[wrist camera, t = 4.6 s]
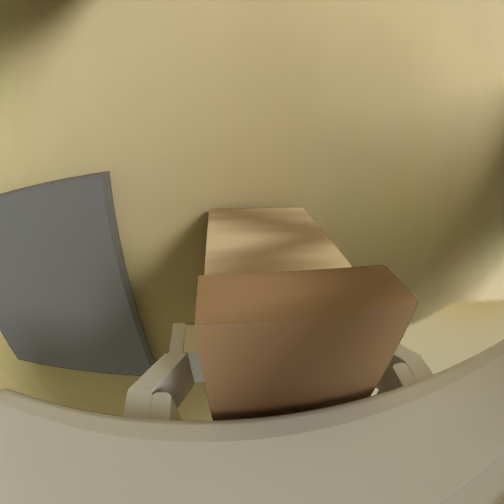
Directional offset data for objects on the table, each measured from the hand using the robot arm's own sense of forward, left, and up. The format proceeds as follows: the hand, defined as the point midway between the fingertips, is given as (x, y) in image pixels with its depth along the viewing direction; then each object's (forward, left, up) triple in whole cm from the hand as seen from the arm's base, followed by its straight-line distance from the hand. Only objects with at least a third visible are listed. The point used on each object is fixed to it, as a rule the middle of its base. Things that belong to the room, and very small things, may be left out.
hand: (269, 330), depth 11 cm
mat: (+14, +1, -5) cm, 15 cm away
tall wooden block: (0, 0, -5) cm, 5 cm away
